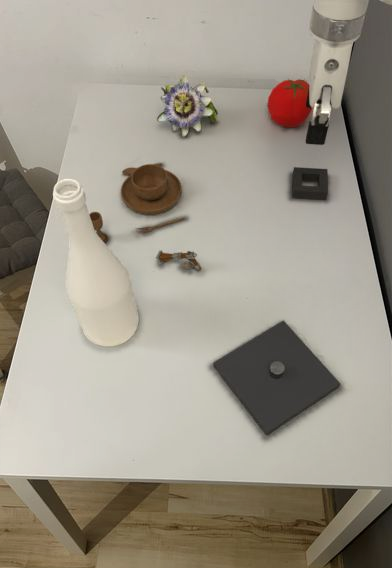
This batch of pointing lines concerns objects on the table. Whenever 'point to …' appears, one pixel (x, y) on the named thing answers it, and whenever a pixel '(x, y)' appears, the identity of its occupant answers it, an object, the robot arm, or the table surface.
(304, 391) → the base pad
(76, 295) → the wine bottle
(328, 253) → the table surface
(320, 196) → the black block
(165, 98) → the passion flower
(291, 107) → the tomato
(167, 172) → the place setting
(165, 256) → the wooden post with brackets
